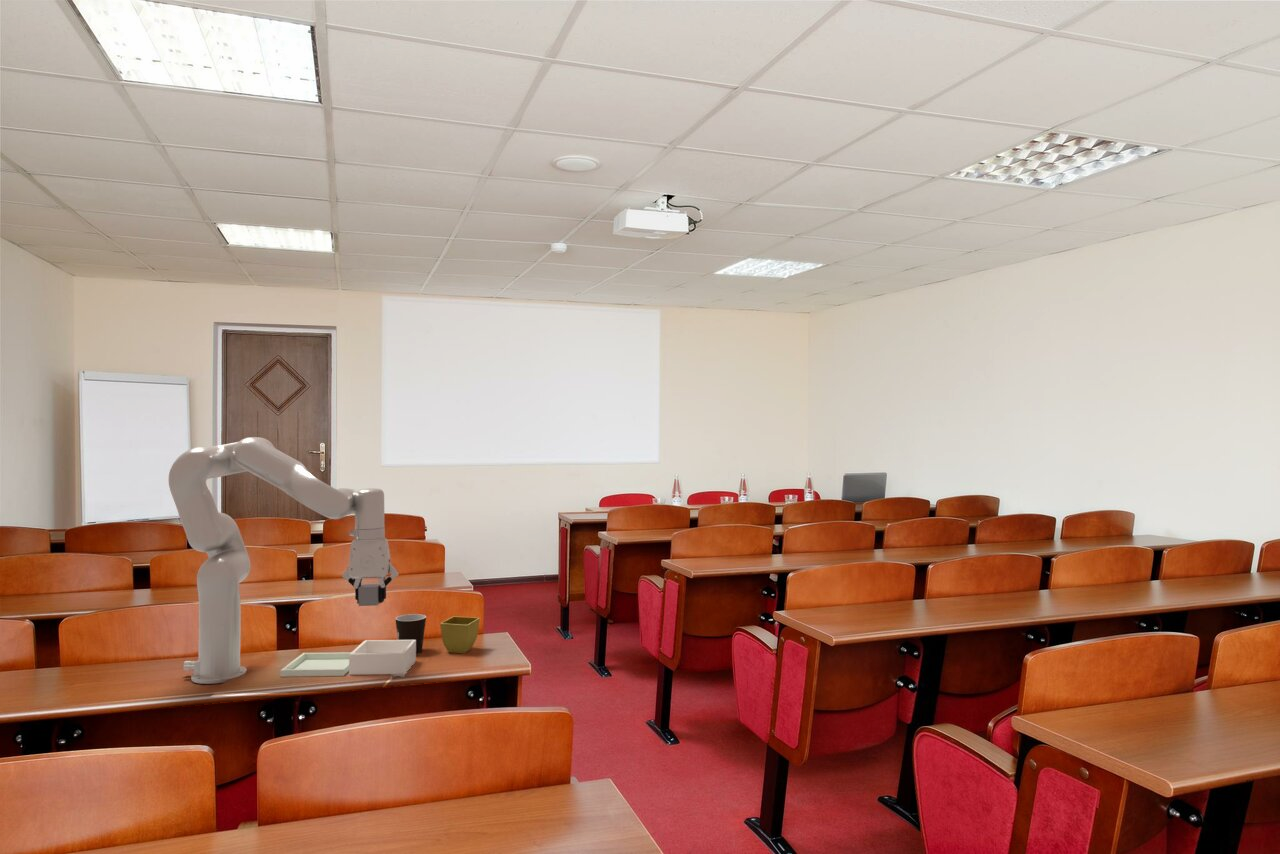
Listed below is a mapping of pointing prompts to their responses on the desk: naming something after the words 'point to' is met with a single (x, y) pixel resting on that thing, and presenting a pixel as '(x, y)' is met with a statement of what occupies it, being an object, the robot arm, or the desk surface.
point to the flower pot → (459, 633)
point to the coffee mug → (411, 629)
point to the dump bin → (383, 657)
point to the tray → (317, 665)
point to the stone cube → (368, 594)
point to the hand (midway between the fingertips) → (370, 601)
